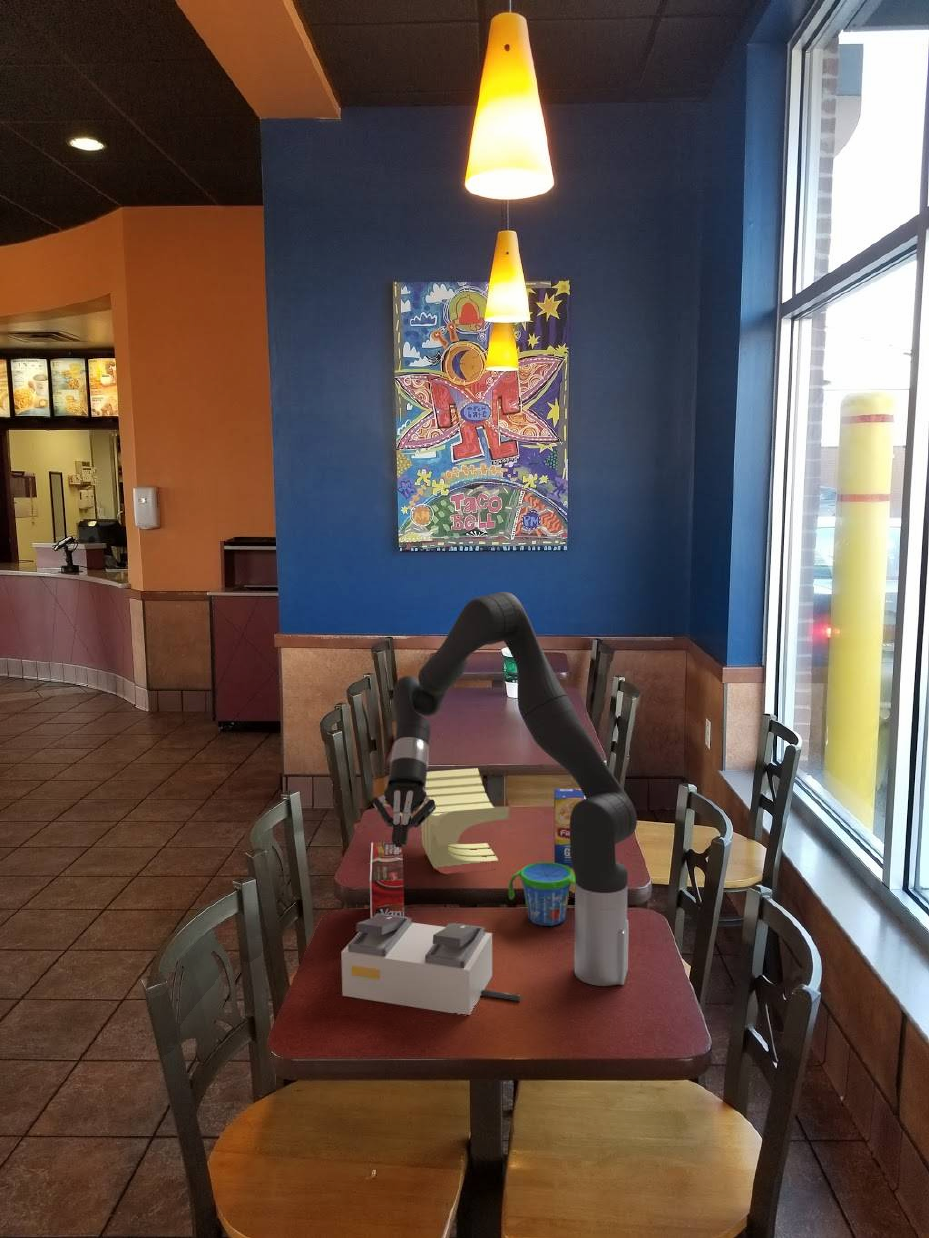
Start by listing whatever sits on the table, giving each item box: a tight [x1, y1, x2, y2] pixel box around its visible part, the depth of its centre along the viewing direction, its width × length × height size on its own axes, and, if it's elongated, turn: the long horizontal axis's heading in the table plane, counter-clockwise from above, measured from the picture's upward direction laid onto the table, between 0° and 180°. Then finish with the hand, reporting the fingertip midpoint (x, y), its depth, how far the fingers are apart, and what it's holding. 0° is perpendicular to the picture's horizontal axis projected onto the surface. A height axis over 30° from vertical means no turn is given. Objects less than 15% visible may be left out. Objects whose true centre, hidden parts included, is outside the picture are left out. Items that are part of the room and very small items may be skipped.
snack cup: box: [508, 861, 575, 927], centre depth 194 cm, size 16×10×10 cm
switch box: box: [340, 913, 522, 1016], centre depth 167 cm, size 30×14×9 cm, turn 73°
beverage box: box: [553, 788, 586, 893], centre depth 206 cm, size 7×11×22 cm, turn 86°
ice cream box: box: [369, 841, 405, 919], centre depth 193 cm, size 20×6×13 cm, turn 5°
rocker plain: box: [433, 923, 478, 947], centre depth 166 cm, size 5×11×2 cm, turn 163°
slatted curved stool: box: [418, 767, 510, 869], centre depth 224 cm, size 30×16×18 cm, turn 12°
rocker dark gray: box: [355, 915, 404, 935], centre depth 170 cm, size 5×11×2 cm, turn 163°
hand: (398, 845), depth 183 cm, fingers closed
